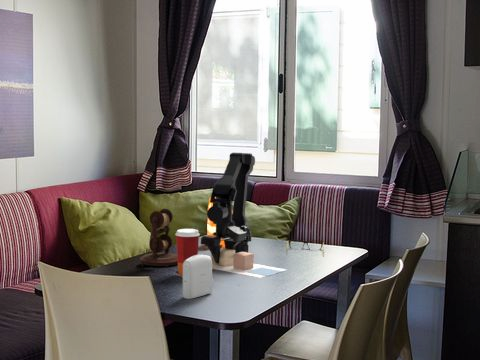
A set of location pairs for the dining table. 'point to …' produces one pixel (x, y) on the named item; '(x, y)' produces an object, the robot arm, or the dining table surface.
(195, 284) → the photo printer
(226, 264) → the birch block
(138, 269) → the dining table surface
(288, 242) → the eyeglasses
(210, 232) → the orange juice
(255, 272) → the white board
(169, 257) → the wooden spool stand
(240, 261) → the terracotta block
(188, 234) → the coffee cup
